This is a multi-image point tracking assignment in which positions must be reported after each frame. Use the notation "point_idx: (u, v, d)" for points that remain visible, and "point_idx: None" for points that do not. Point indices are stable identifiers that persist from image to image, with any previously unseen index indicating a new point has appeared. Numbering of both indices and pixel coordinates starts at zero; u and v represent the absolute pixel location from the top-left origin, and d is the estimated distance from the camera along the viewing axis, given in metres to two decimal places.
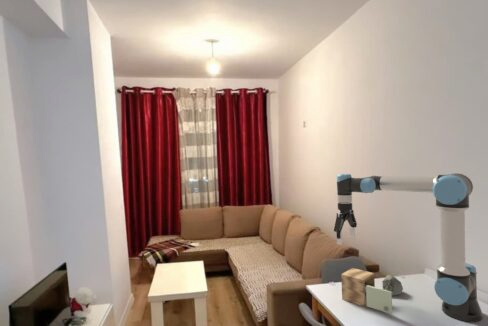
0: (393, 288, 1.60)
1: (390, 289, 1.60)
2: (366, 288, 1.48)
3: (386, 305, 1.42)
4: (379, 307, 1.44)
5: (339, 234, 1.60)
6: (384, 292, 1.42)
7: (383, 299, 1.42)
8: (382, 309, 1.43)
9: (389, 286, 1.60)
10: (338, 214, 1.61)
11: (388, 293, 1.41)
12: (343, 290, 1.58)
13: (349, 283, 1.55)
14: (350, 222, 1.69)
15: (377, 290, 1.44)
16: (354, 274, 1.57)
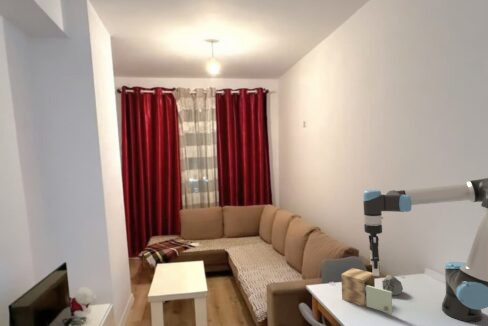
0: (393, 288, 1.60)
1: (390, 289, 1.60)
2: (366, 288, 1.48)
3: (386, 305, 1.42)
4: (379, 307, 1.44)
5: None
6: (384, 292, 1.42)
7: (383, 299, 1.42)
8: (382, 309, 1.43)
9: (389, 286, 1.60)
10: None
11: (388, 293, 1.41)
12: (343, 290, 1.58)
13: (349, 283, 1.55)
14: None
15: (377, 290, 1.44)
16: (354, 274, 1.57)
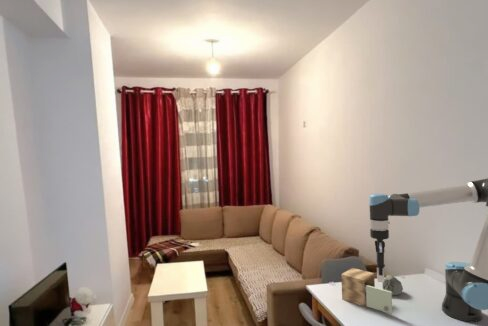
0: (393, 288, 1.60)
1: (390, 289, 1.60)
2: (366, 288, 1.48)
3: (386, 305, 1.42)
4: (379, 307, 1.44)
5: None
6: (384, 292, 1.42)
7: (383, 299, 1.42)
8: (382, 309, 1.43)
9: (389, 286, 1.60)
10: None
11: (388, 293, 1.41)
12: (343, 290, 1.58)
13: (349, 283, 1.55)
14: None
15: (377, 290, 1.44)
16: (354, 274, 1.57)
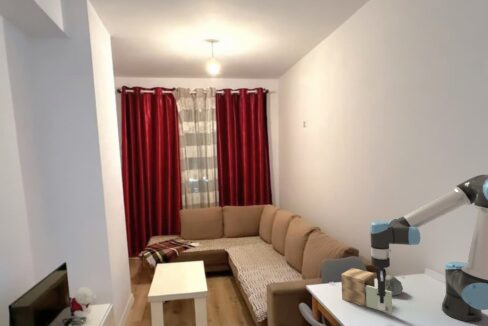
0: (393, 288, 1.60)
1: (390, 289, 1.60)
2: (366, 288, 1.48)
3: (386, 305, 1.42)
4: None
5: None
6: None
7: None
8: None
9: (389, 286, 1.60)
10: None
11: (388, 293, 1.41)
12: (343, 290, 1.58)
13: (349, 283, 1.55)
14: None
15: (377, 290, 1.44)
16: (354, 274, 1.57)
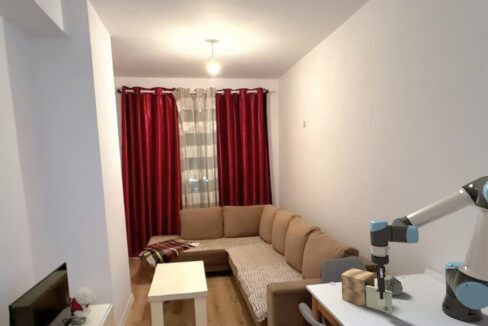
0: (393, 288, 1.60)
1: (390, 289, 1.60)
2: (366, 288, 1.48)
3: (386, 305, 1.42)
4: (379, 307, 1.44)
5: None
6: None
7: None
8: (382, 309, 1.43)
9: (389, 286, 1.60)
10: None
11: (388, 293, 1.41)
12: (343, 290, 1.58)
13: (349, 283, 1.55)
14: None
15: None
16: (354, 274, 1.57)
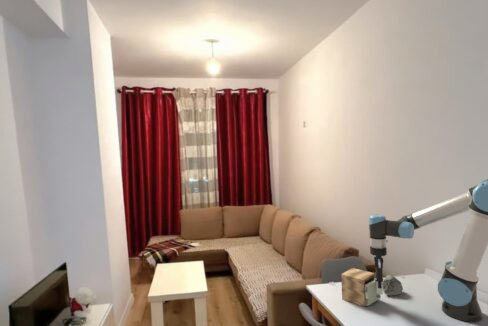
0: (393, 288, 1.60)
1: (390, 289, 1.60)
2: (367, 287, 1.48)
3: None
4: (374, 299, 1.52)
5: None
6: None
7: (376, 289, 1.53)
8: (375, 299, 1.53)
9: (389, 286, 1.60)
10: None
11: None
12: (343, 290, 1.58)
13: (349, 283, 1.55)
14: None
15: (373, 283, 1.52)
16: (354, 274, 1.57)
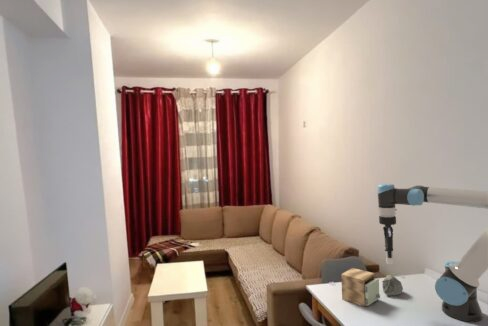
0: (393, 288, 1.60)
1: (390, 289, 1.60)
2: (367, 287, 1.48)
3: (377, 293, 1.54)
4: (374, 299, 1.52)
5: None
6: (376, 281, 1.54)
7: (375, 288, 1.54)
8: (375, 299, 1.53)
9: (389, 286, 1.60)
10: None
11: (377, 280, 1.55)
12: (343, 290, 1.58)
13: (349, 283, 1.55)
14: None
15: (373, 283, 1.52)
16: (354, 274, 1.57)
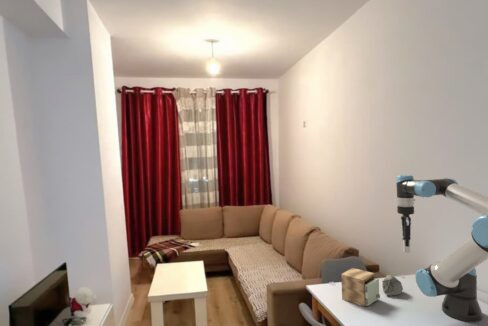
0: (393, 288, 1.60)
1: (390, 289, 1.60)
2: (367, 287, 1.48)
3: (377, 293, 1.54)
4: (374, 299, 1.52)
5: None
6: (376, 281, 1.54)
7: (375, 288, 1.54)
8: (375, 299, 1.53)
9: (389, 286, 1.60)
10: None
11: (377, 280, 1.55)
12: (343, 290, 1.58)
13: (349, 283, 1.55)
14: None
15: (373, 283, 1.52)
16: (354, 274, 1.57)
